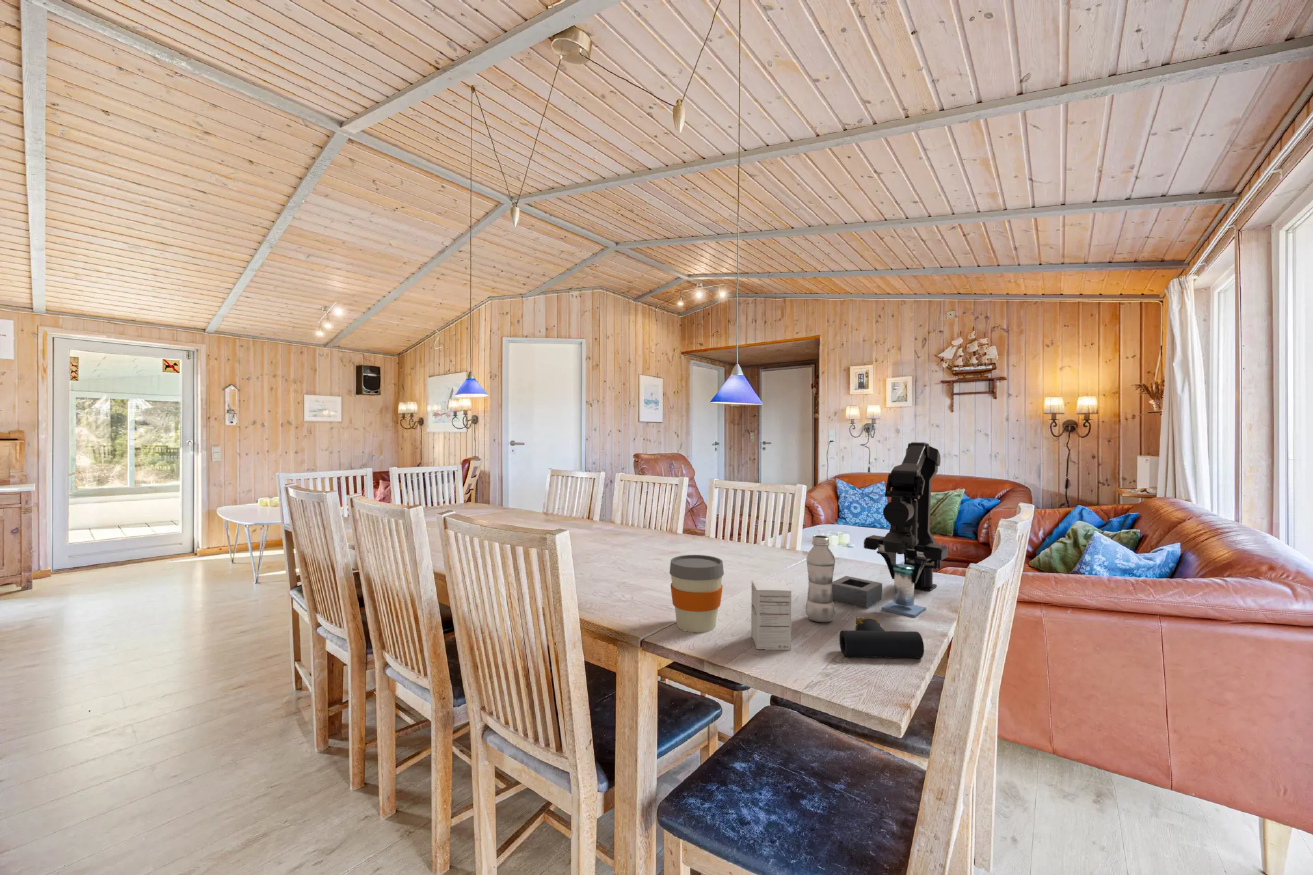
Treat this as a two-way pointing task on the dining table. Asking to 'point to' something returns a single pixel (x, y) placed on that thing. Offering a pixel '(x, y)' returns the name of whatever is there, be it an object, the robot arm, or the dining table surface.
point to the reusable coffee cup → (696, 591)
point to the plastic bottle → (820, 581)
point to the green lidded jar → (903, 584)
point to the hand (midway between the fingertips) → (904, 580)
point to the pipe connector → (879, 641)
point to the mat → (904, 609)
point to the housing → (856, 592)
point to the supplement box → (771, 615)
